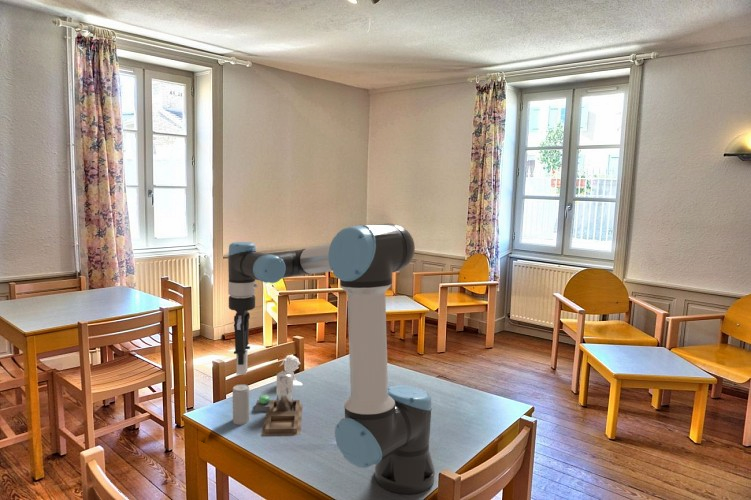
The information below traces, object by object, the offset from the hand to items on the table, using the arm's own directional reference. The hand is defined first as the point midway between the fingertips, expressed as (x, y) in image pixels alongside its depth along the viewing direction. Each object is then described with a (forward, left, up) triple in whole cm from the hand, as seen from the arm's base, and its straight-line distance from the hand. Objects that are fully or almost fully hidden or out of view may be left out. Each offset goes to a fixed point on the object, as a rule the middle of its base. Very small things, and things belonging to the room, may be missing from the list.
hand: (241, 372), depth 151 cm
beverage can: (0, 0, -17) cm, 17 cm away
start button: (+8, -6, -13) cm, 16 cm away
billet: (+6, -12, -15) cm, 20 cm away
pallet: (+1, -11, -16) cm, 20 cm away
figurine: (+27, -13, -17) cm, 34 cm away
